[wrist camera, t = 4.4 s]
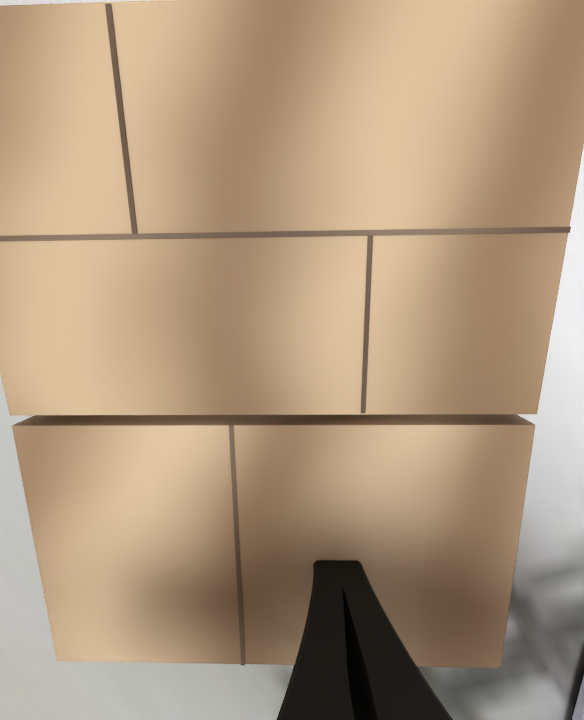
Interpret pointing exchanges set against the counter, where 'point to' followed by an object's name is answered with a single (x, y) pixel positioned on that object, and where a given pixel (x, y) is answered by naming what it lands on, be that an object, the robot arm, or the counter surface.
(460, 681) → the counter surface
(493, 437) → the click plank
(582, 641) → the counter surface
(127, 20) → the laid floor boards
